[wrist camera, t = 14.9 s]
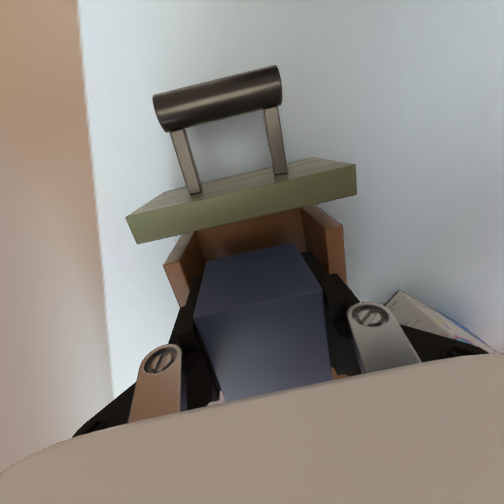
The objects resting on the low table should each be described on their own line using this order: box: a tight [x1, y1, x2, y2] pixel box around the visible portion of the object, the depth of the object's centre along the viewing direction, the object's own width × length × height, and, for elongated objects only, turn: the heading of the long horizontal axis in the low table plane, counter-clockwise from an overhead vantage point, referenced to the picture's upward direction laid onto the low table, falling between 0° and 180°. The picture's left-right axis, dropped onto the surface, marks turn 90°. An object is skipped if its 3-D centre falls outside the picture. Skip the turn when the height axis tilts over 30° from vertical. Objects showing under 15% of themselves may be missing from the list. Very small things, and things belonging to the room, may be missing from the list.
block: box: [193, 242, 333, 402], centre depth 10 cm, size 4×4×4 cm
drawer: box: [126, 65, 357, 308], centre depth 13 cm, size 14×9×6 cm, turn 12°
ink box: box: [385, 291, 499, 354], centre depth 16 cm, size 9×5×12 cm, turn 60°
